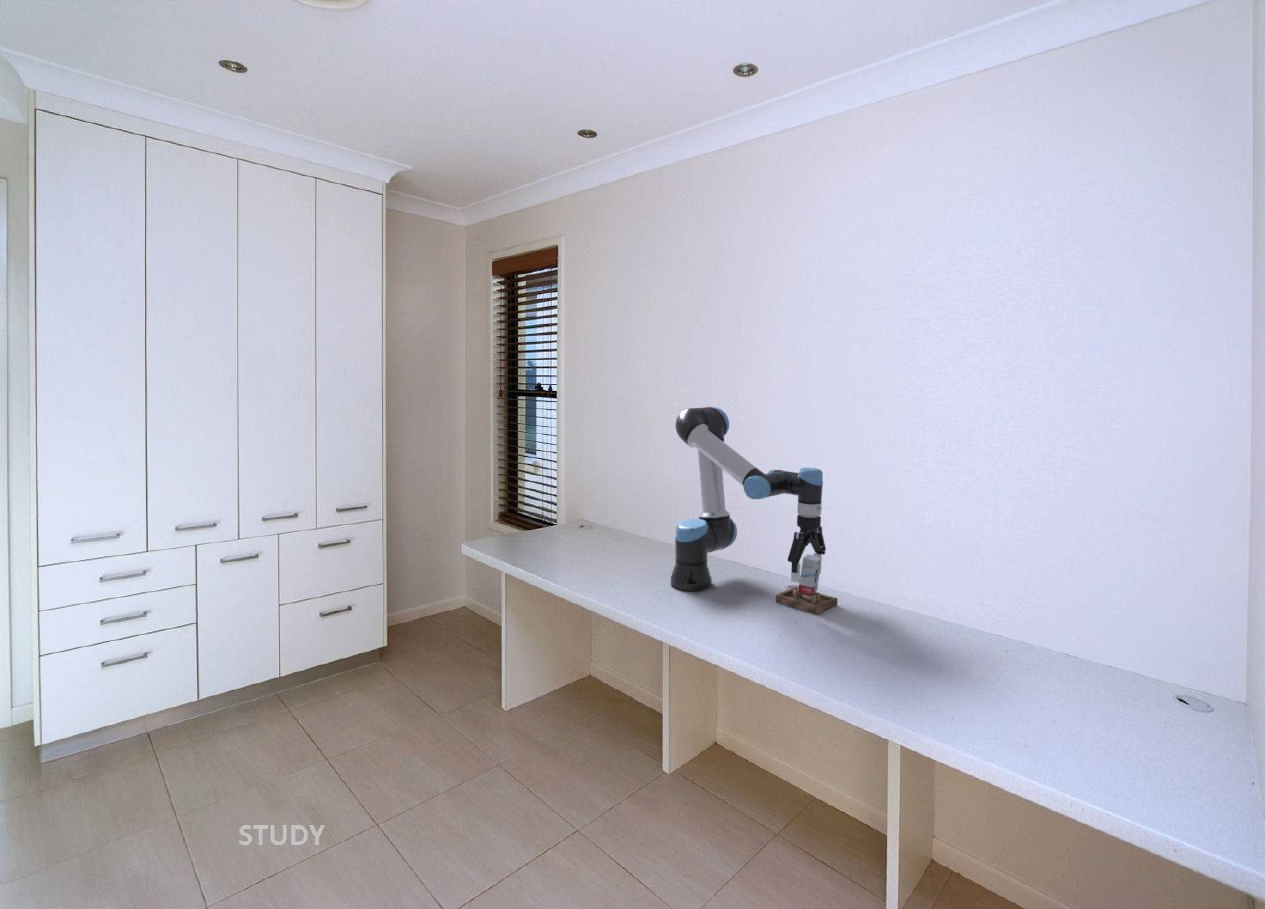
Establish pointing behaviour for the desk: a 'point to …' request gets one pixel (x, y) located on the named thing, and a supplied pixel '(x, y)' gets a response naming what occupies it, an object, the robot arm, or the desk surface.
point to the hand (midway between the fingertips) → (806, 577)
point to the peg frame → (806, 601)
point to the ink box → (809, 574)
